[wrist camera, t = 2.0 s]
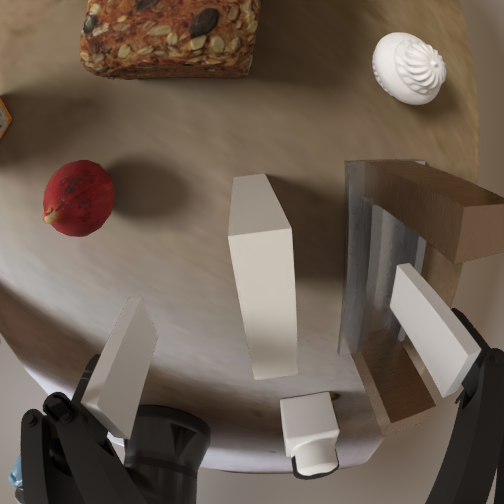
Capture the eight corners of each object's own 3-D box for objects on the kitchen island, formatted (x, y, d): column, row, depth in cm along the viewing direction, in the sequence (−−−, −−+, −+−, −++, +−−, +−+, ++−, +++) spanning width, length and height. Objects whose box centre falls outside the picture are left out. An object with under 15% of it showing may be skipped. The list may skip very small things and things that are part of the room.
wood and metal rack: (394, 338, 31) (437, 415, 19) (337, 351, 31) (368, 441, 19) (420, 159, 21) (525, 202, 10) (344, 161, 21) (442, 208, 10)
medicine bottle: (325, 413, 38) (340, 476, 27) (281, 420, 38) (289, 485, 27) (329, 390, 35) (349, 461, 24) (279, 398, 35) (290, 473, 24)
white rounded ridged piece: (407, 117, 19) (457, 122, 13) (348, 86, 18) (391, 76, 12) (421, 63, 17) (471, 55, 11) (365, 29, 16) (407, 6, 10)
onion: (97, 140, 19) (40, 154, 12) (141, 184, 21) (98, 215, 14) (64, 189, 21) (11, 220, 14) (105, 229, 23) (61, 273, 16)
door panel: (275, 271, 26) (297, 374, 15) (247, 274, 26) (254, 380, 15) (264, 173, 22) (291, 228, 11) (233, 177, 22) (227, 236, 11)
